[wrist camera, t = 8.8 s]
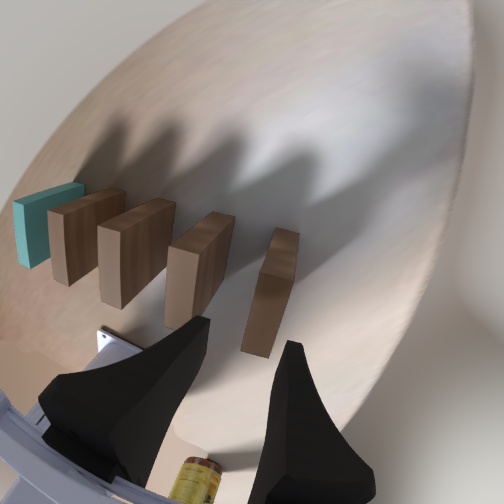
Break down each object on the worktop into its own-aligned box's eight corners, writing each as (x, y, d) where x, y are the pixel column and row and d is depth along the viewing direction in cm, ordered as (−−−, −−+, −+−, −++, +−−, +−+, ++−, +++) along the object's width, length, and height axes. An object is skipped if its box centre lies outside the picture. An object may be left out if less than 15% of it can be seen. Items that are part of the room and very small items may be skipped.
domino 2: (125, 191, 21) (63, 215, 14) (122, 249, 23) (68, 286, 16) (109, 187, 21) (47, 210, 14) (108, 244, 23) (53, 279, 16)
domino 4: (235, 216, 20) (199, 254, 13) (223, 279, 22) (189, 335, 15) (213, 211, 20) (168, 246, 14) (203, 273, 22) (163, 326, 16)
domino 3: (175, 202, 20) (120, 232, 14) (169, 263, 22) (121, 310, 16) (156, 198, 20) (97, 225, 14) (151, 258, 22) (100, 301, 16)
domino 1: (84, 184, 21) (23, 205, 15) (84, 238, 23) (30, 269, 17) (72, 181, 21) (12, 201, 15) (72, 234, 23) (19, 263, 17)
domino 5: (299, 233, 19) (293, 280, 13) (281, 295, 21) (268, 358, 15) (276, 227, 20) (259, 271, 13) (260, 290, 22) (240, 350, 15)
